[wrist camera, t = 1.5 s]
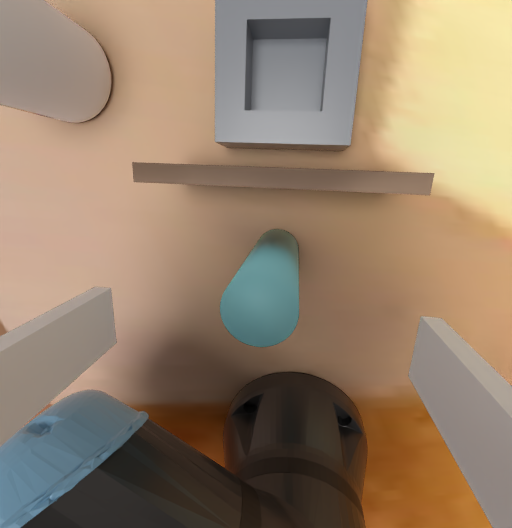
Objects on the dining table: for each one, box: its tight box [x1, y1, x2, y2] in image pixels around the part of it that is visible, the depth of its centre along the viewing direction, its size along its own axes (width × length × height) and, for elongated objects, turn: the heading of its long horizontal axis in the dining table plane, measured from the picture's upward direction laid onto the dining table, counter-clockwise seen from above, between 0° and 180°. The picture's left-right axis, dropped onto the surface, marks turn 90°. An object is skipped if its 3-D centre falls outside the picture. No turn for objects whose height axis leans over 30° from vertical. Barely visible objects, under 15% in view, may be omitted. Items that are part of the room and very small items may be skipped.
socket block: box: [215, 0, 367, 151], centre depth 23 cm, size 10×10×4 cm
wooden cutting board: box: [132, 162, 434, 195], centre depth 22 cm, size 1×18×9 cm, turn 88°
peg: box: [220, 229, 299, 347], centre depth 22 cm, size 4×4×14 cm
